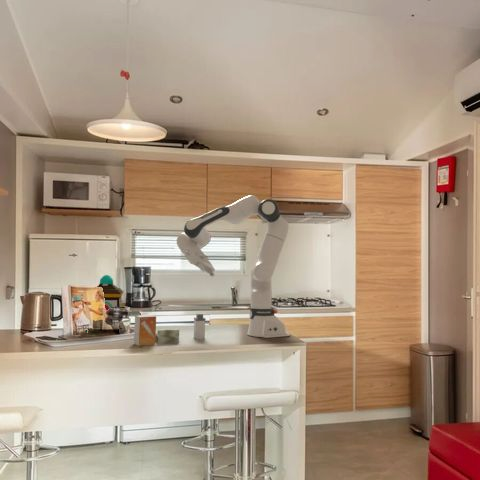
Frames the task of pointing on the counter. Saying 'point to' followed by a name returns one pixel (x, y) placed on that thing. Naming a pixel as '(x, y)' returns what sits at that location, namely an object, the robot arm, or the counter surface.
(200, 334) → the connector
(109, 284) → the decorative lantern
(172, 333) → the socket
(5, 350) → the counter surface
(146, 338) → the small box
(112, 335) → the counter surface
